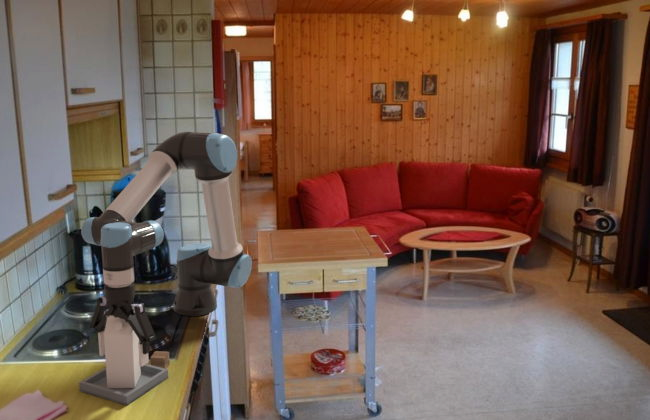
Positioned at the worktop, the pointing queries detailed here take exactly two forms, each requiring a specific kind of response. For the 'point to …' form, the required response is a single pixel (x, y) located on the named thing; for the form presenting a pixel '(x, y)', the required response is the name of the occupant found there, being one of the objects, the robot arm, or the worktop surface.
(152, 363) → the walnut block
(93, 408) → the worktop surface
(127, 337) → the milk carton
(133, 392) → the tray
